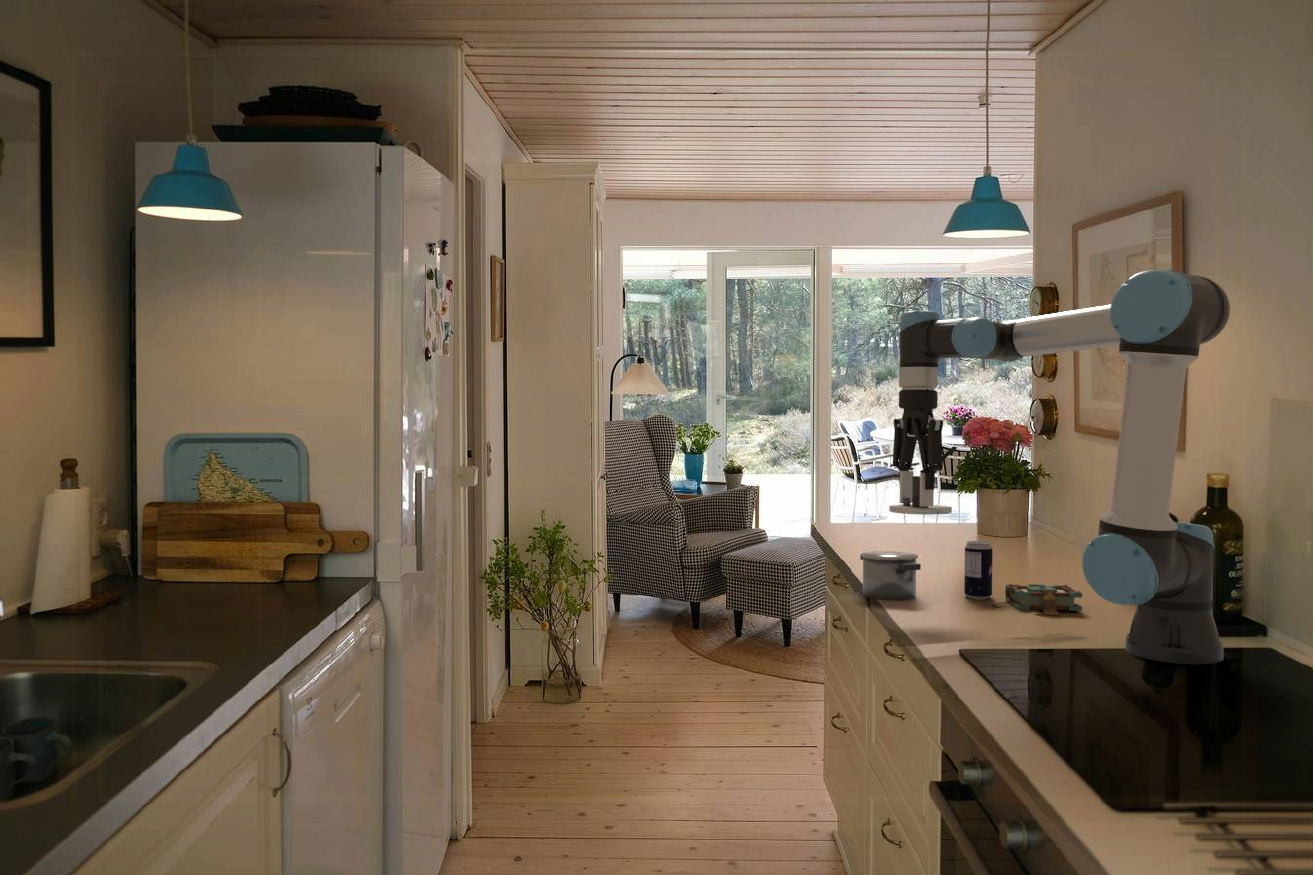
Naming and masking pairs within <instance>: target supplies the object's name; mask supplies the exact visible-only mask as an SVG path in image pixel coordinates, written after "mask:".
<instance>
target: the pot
mask: <svg viewBox="0 0 1313 875" xmlns="http://www.w3.org/2000/svg"><path fill="white" fill-rule="evenodd" d="M859 556H860V557H859V558H860V561H861V560H862V595H863V596H865V597H867V598H870V599H875V600H880V601H889V602H890V601H891V602H892V601H893V602H895V601H896V602H899V601H910V600H913V599H916V597H917V571H921V570H922V569H921V566H922V565H921V563H918V562H917V559H919V555H918V554H916V553H912V552H906V551H905V552H904V551H890V550H875V551H872V550H871V551H865V552H861V553H860V555H859Z"/></svg>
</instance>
